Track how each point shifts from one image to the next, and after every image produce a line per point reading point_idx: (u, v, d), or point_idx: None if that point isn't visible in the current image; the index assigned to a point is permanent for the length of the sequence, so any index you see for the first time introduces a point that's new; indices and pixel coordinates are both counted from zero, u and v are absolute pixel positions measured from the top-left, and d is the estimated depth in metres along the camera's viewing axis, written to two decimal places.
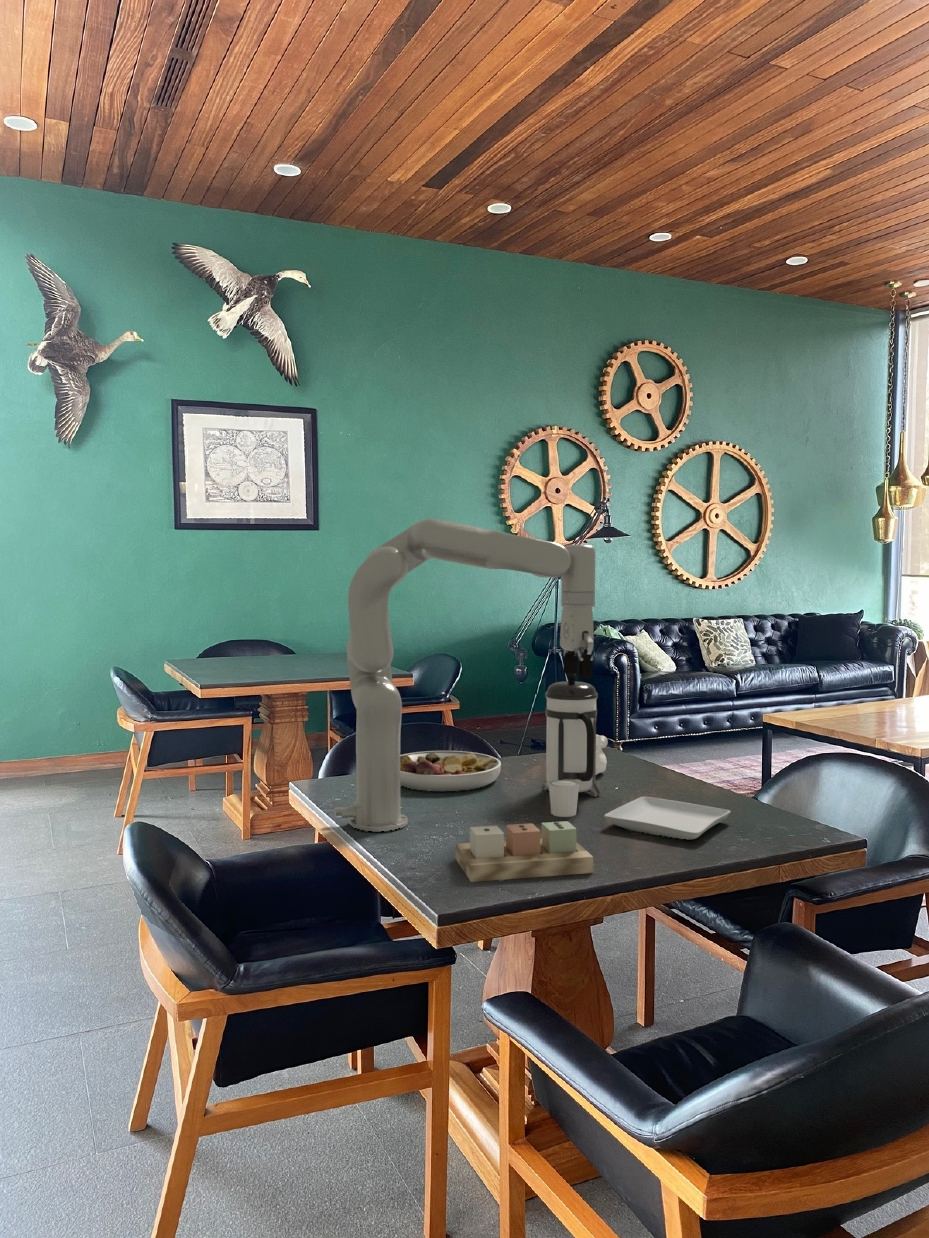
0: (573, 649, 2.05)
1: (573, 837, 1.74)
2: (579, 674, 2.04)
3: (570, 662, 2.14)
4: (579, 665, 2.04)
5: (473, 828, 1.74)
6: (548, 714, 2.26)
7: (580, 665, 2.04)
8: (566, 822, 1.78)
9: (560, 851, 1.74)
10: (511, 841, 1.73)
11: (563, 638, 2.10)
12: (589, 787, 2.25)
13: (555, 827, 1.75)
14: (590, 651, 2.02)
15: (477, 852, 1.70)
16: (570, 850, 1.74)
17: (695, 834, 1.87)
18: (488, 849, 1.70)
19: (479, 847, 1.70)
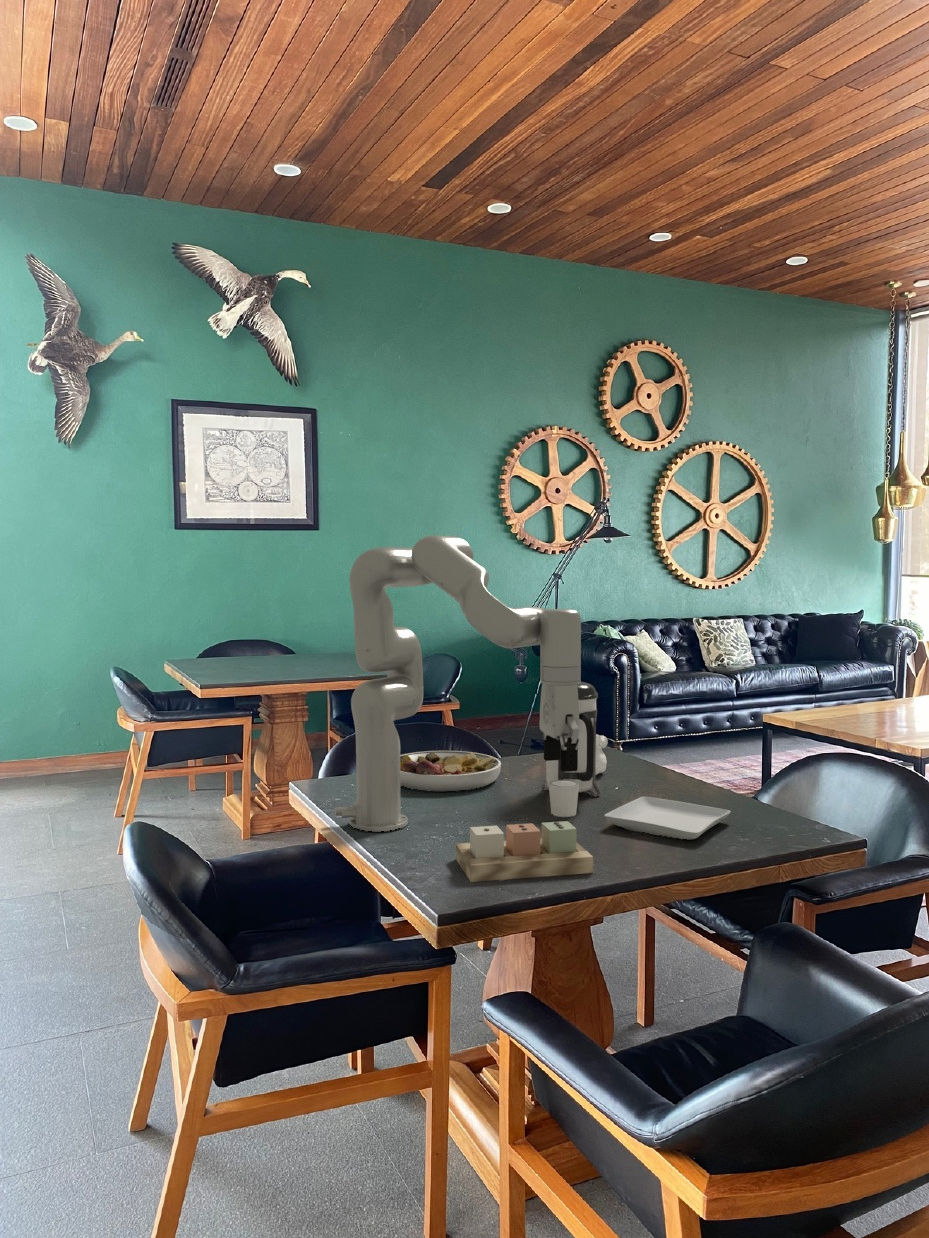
0: (555, 736, 1.70)
1: (573, 837, 1.74)
2: (562, 766, 1.70)
3: (552, 747, 1.80)
4: (562, 755, 1.70)
5: (473, 828, 1.74)
6: None
7: (563, 755, 1.70)
8: (566, 822, 1.78)
9: (560, 851, 1.74)
10: (511, 841, 1.73)
11: (543, 720, 1.76)
12: (589, 787, 2.25)
13: (555, 827, 1.75)
14: (575, 740, 1.68)
15: (477, 852, 1.70)
16: (570, 850, 1.74)
17: (695, 834, 1.87)
18: (488, 849, 1.70)
19: (479, 847, 1.70)
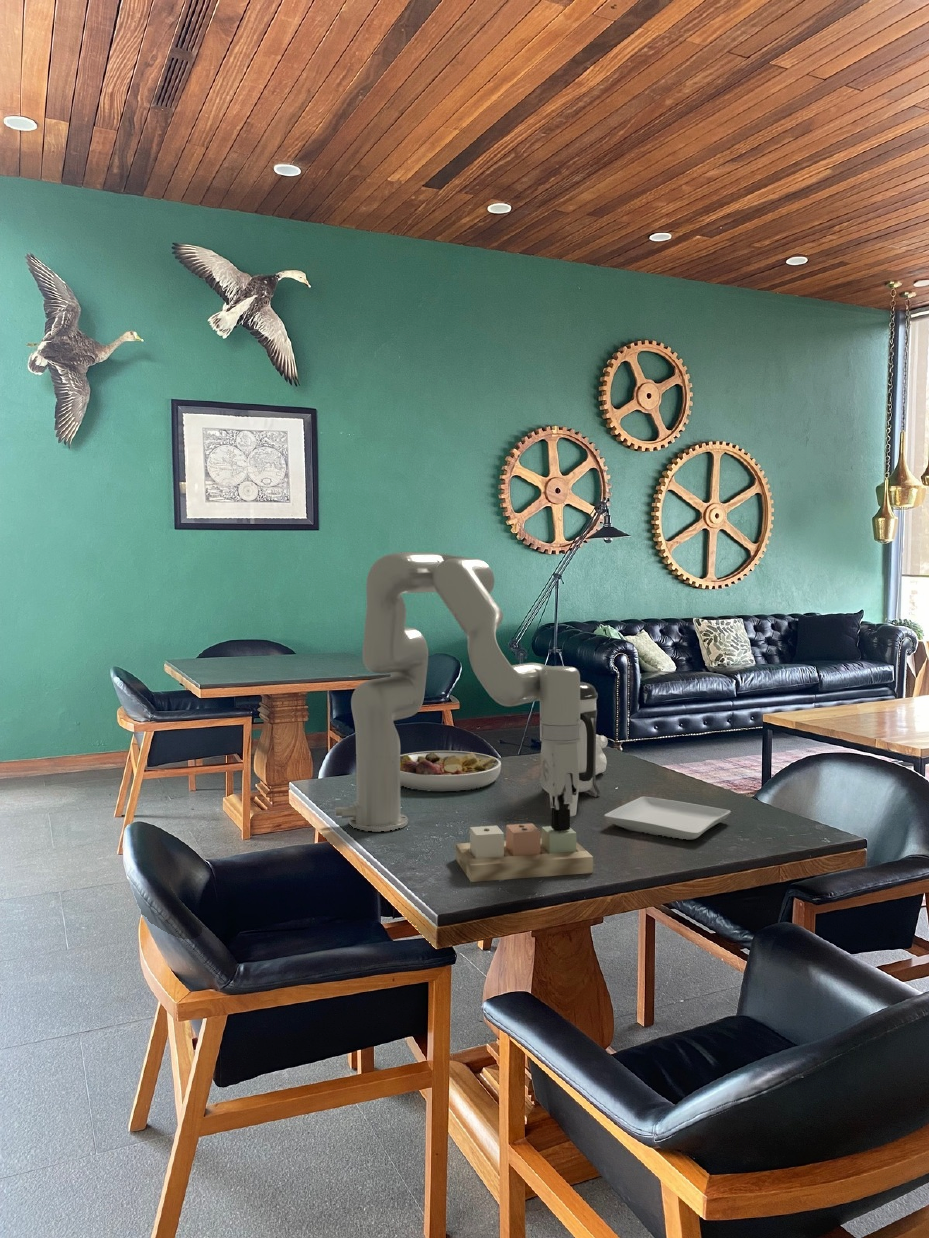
0: (554, 795, 1.70)
1: (573, 841, 1.74)
2: (555, 825, 1.75)
3: None
4: (555, 815, 1.75)
5: (473, 828, 1.74)
6: None
7: (556, 814, 1.75)
8: None
9: None
10: (511, 841, 1.73)
11: (543, 777, 1.76)
12: (589, 787, 2.25)
13: (555, 831, 1.75)
14: None
15: (477, 852, 1.70)
16: None
17: (695, 834, 1.87)
18: (488, 849, 1.70)
19: (479, 847, 1.70)
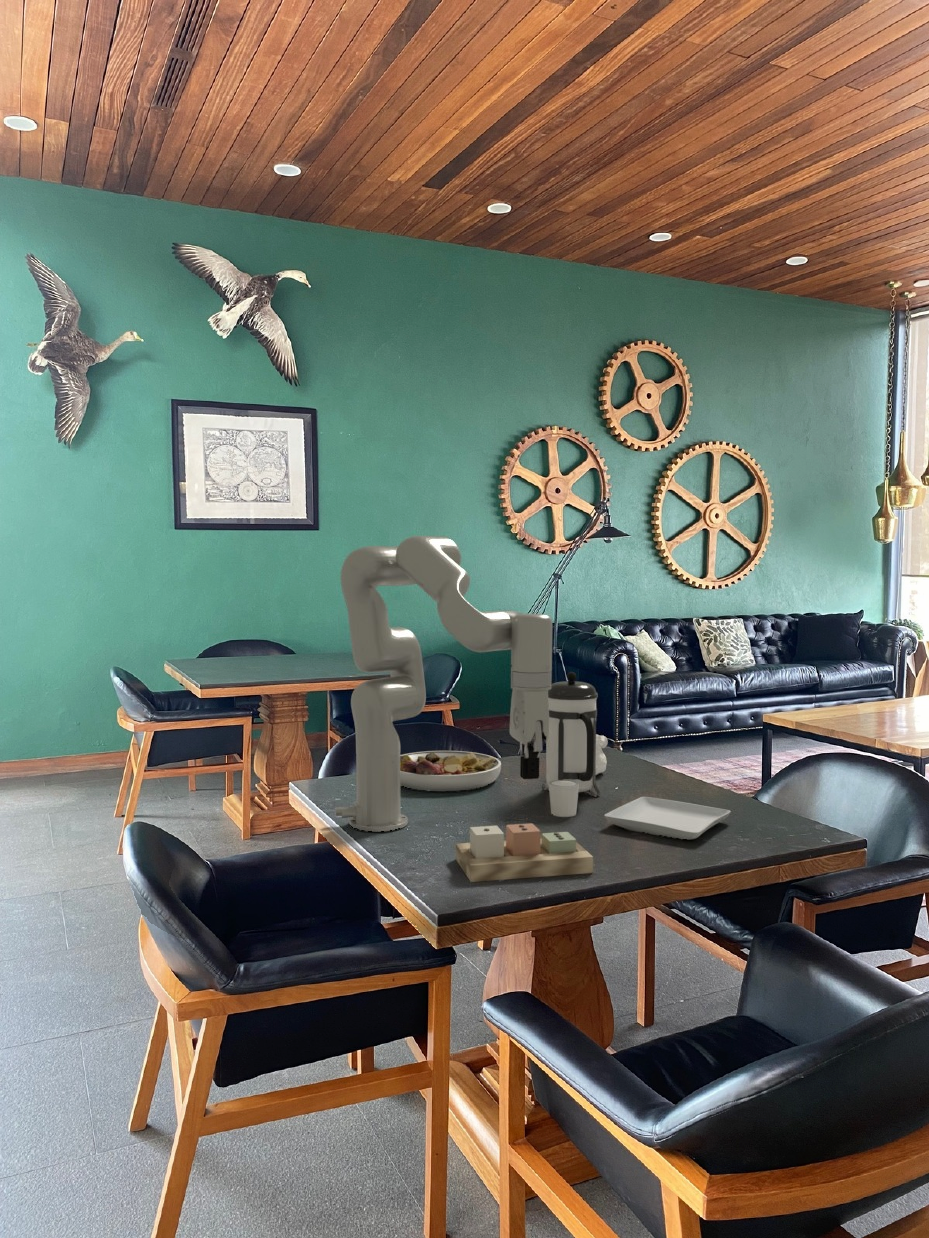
0: (524, 742, 1.69)
1: (573, 848, 1.74)
2: (524, 774, 1.73)
3: None
4: (524, 763, 1.73)
5: (473, 828, 1.74)
6: None
7: (525, 763, 1.73)
8: (566, 833, 1.78)
9: None
10: (511, 841, 1.73)
11: (513, 726, 1.74)
12: (589, 787, 2.25)
13: (555, 838, 1.75)
14: None
15: (477, 852, 1.70)
16: None
17: (695, 834, 1.87)
18: (488, 849, 1.70)
19: (479, 847, 1.70)
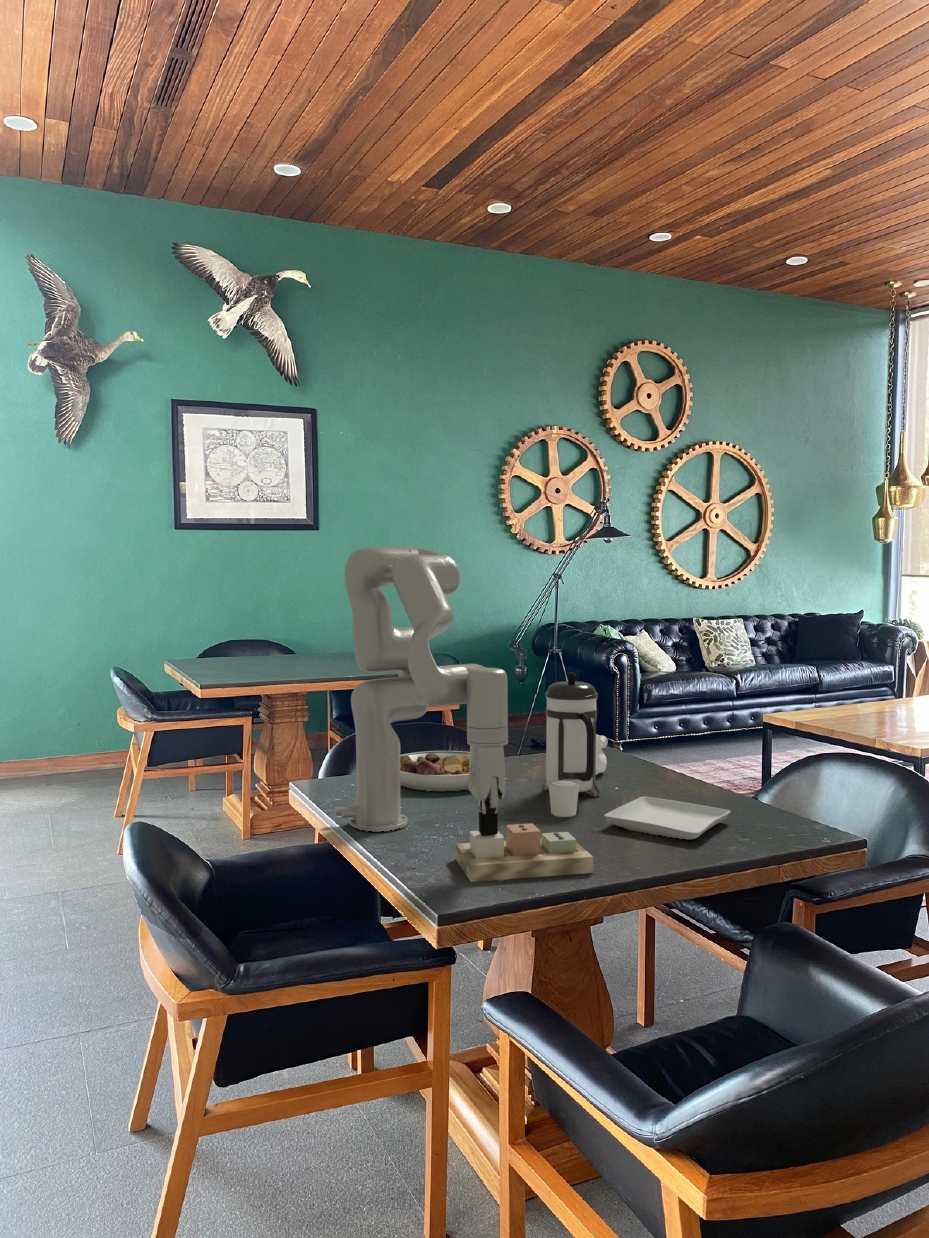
0: (480, 799, 1.67)
1: (573, 848, 1.74)
2: (482, 830, 1.71)
3: None
4: (482, 819, 1.71)
5: (473, 832, 1.74)
6: (548, 714, 2.26)
7: (483, 819, 1.71)
8: (566, 833, 1.78)
9: None
10: (511, 841, 1.73)
11: (471, 781, 1.73)
12: (589, 787, 2.25)
13: (555, 838, 1.75)
14: None
15: (477, 856, 1.70)
16: None
17: (695, 834, 1.87)
18: (488, 853, 1.71)
19: (479, 852, 1.70)
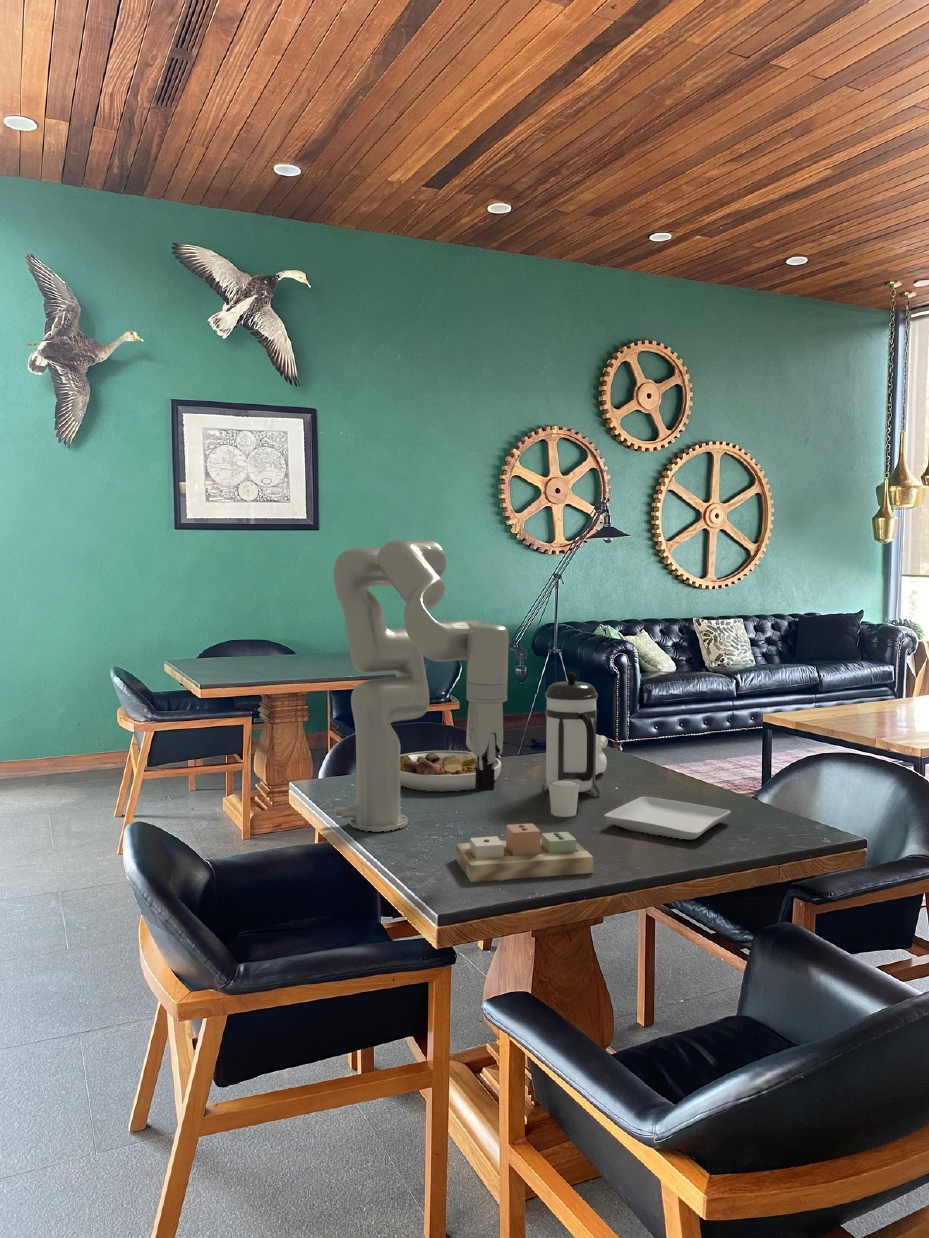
0: (477, 754, 1.67)
1: (573, 848, 1.74)
2: (478, 785, 1.72)
3: None
4: (478, 775, 1.72)
5: (473, 839, 1.74)
6: (548, 714, 2.26)
7: (480, 775, 1.72)
8: (566, 833, 1.78)
9: None
10: (511, 841, 1.73)
11: (469, 737, 1.73)
12: (589, 787, 2.25)
13: (555, 838, 1.75)
14: None
15: None
16: None
17: (695, 834, 1.87)
18: None
19: None
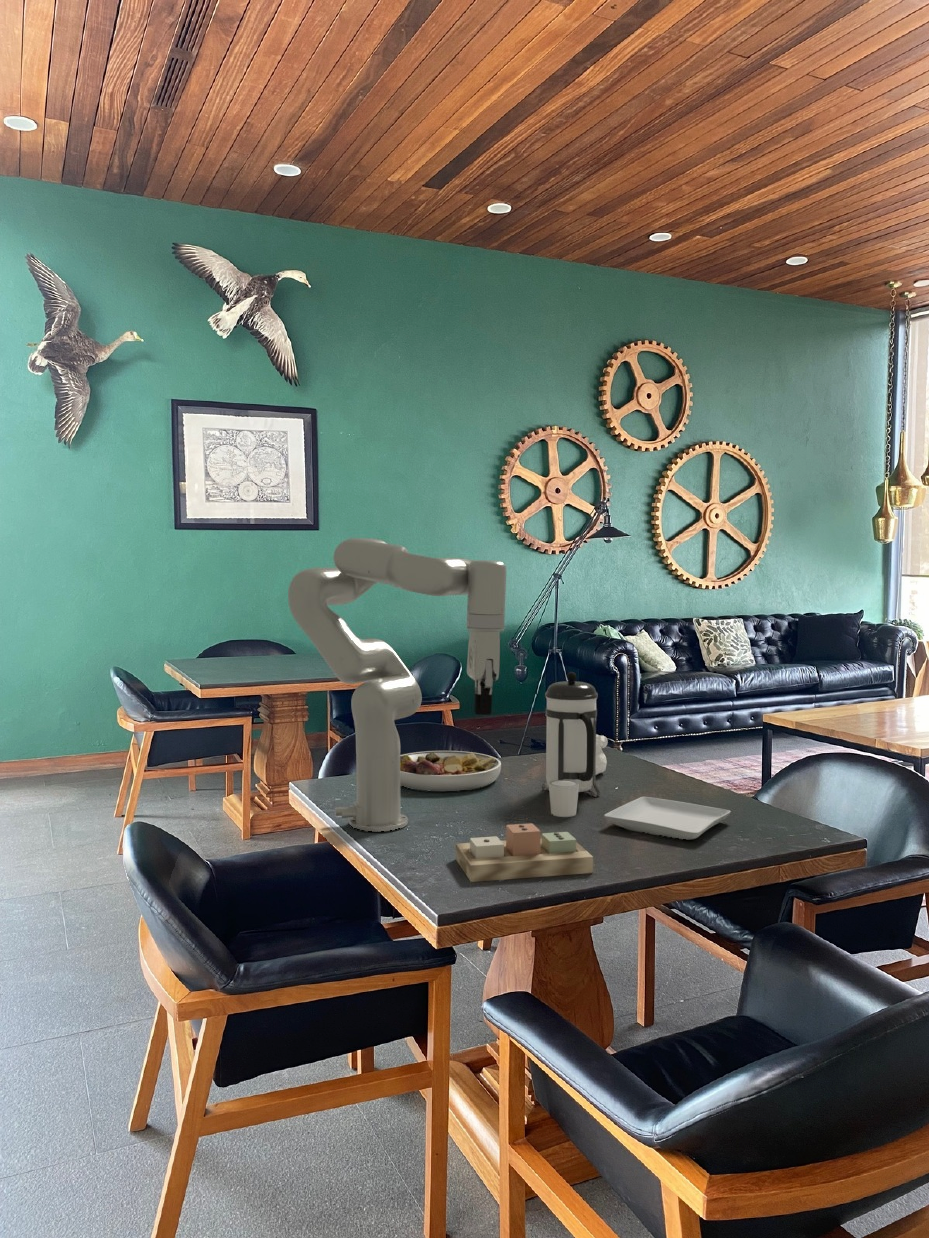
0: (475, 679, 1.82)
1: (573, 848, 1.74)
2: (477, 709, 1.86)
3: None
4: (477, 699, 1.86)
5: (473, 839, 1.74)
6: (548, 714, 2.26)
7: (478, 699, 1.86)
8: (566, 833, 1.78)
9: None
10: (511, 841, 1.73)
11: (468, 665, 1.87)
12: (589, 787, 2.25)
13: (555, 838, 1.75)
14: None
15: None
16: None
17: (695, 834, 1.87)
18: None
19: None
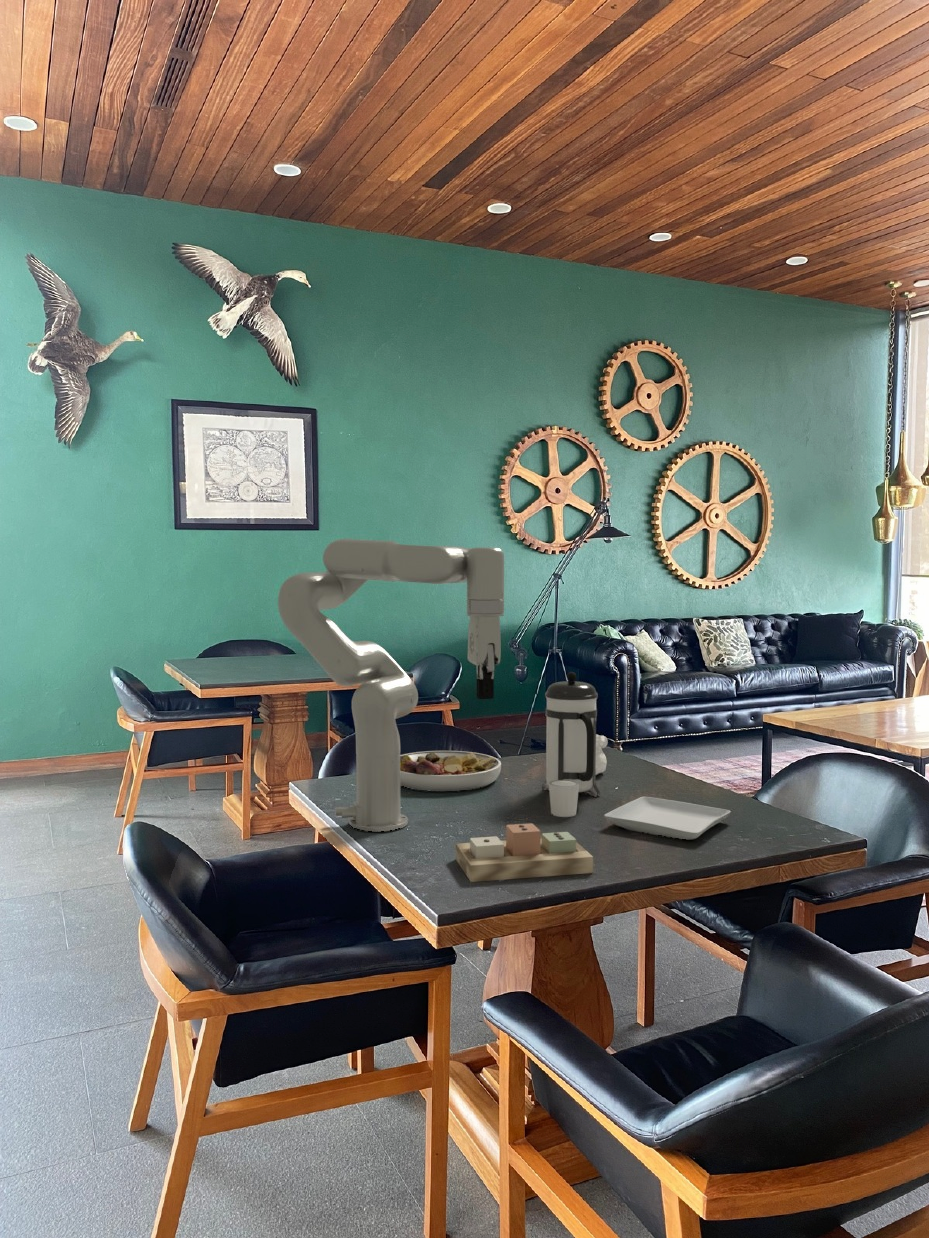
0: (478, 663, 1.85)
1: (573, 848, 1.74)
2: (479, 694, 1.89)
3: None
4: (479, 684, 1.89)
5: (473, 839, 1.74)
6: (548, 714, 2.26)
7: (480, 684, 1.89)
8: (566, 833, 1.78)
9: None
10: (511, 841, 1.73)
11: (469, 651, 1.90)
12: (589, 787, 2.25)
13: (555, 838, 1.75)
14: None
15: None
16: None
17: (695, 834, 1.87)
18: None
19: None
